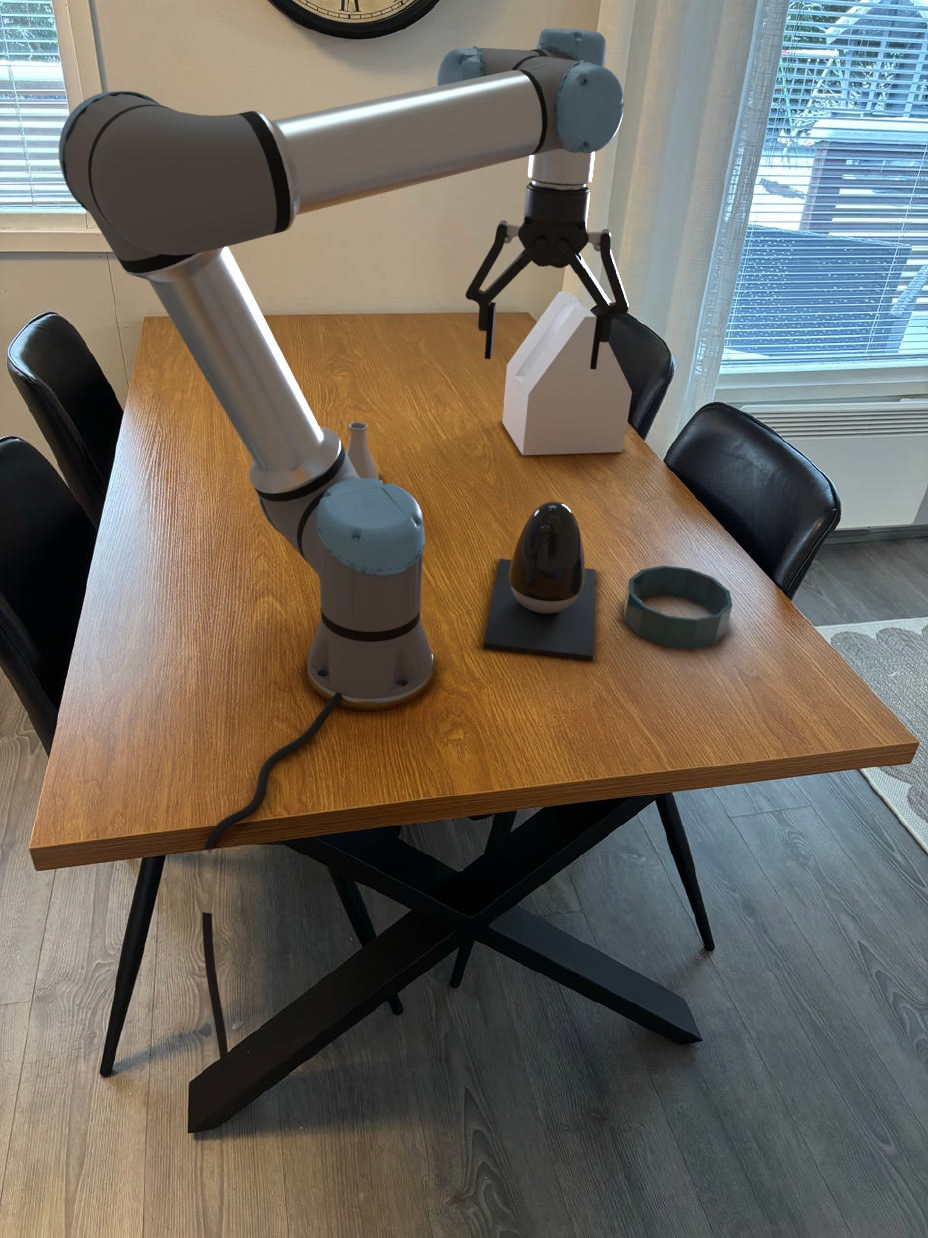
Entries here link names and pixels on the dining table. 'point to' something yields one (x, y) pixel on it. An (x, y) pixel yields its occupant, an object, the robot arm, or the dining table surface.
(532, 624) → the rubber mat
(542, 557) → the dark glossy rounded piece
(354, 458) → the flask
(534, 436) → the white pentagonal block
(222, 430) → the dining table surface
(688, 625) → the teal ring
